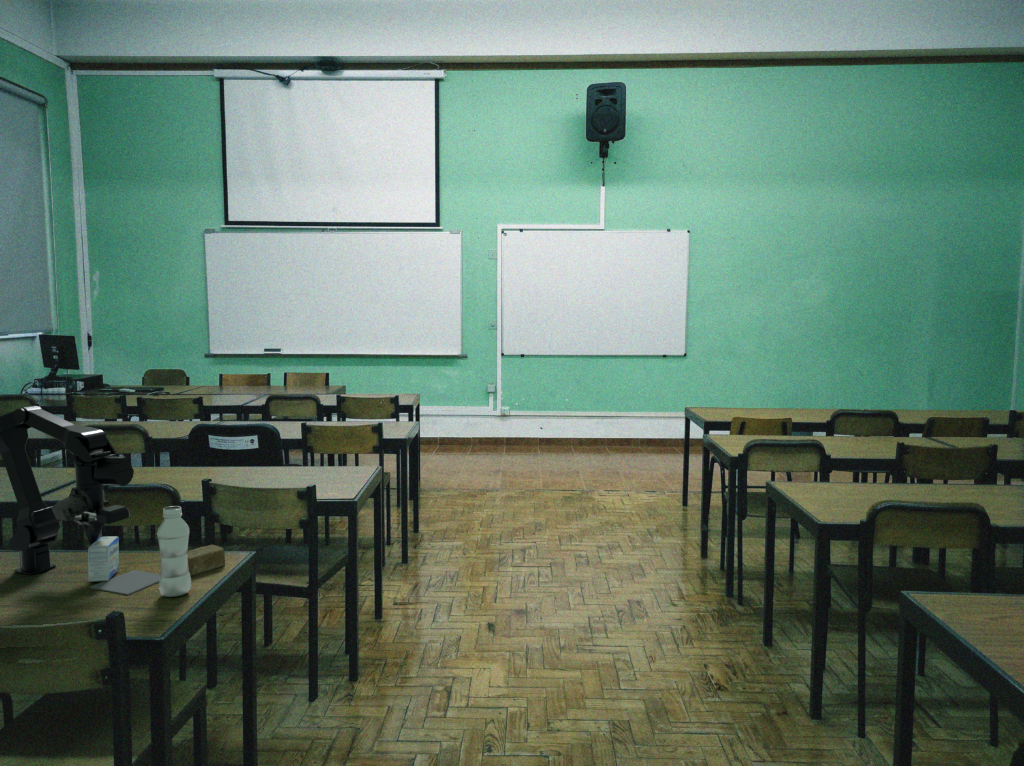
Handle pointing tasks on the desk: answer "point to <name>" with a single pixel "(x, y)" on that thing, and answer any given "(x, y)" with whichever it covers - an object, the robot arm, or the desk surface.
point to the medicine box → (103, 558)
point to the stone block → (205, 559)
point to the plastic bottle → (173, 553)
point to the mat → (128, 582)
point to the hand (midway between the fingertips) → (92, 544)
